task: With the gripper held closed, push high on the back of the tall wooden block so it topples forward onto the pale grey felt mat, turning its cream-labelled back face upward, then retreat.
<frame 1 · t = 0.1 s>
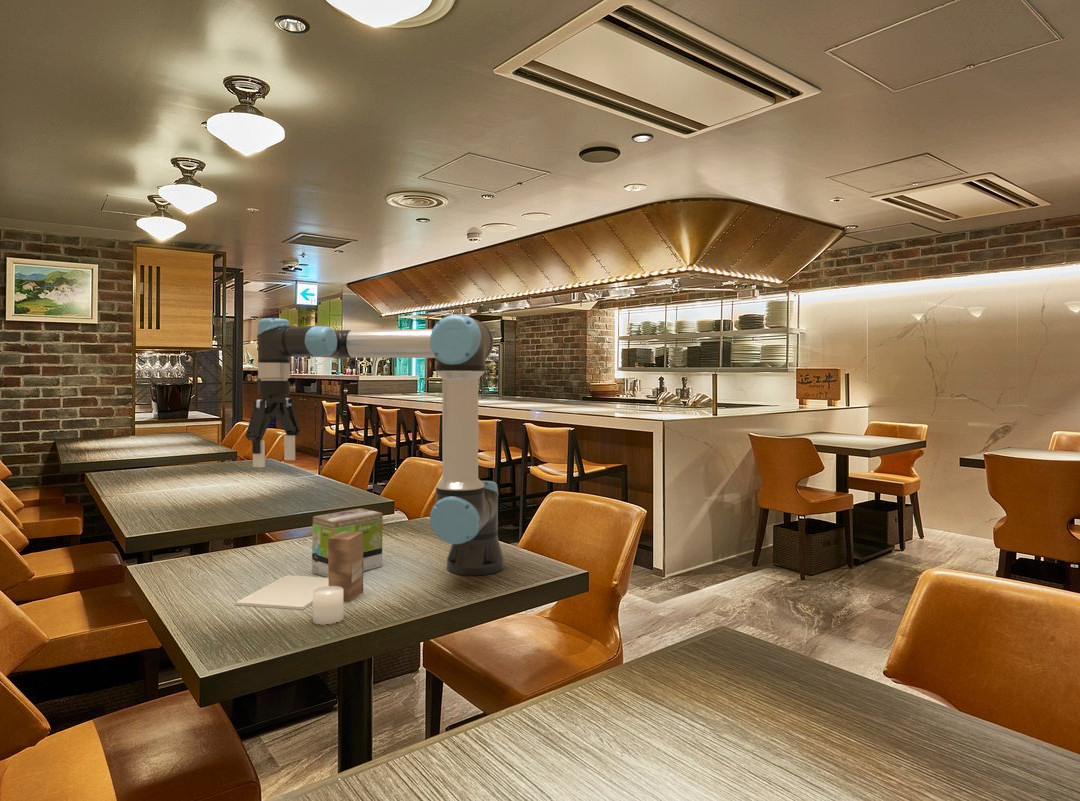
hand: (274, 463, 165), 28 cm above the table, fingers open, 13 cm apart
tea box: (348, 570, 168), on the table
wooden block: (346, 596, 148), on the table
felt mat: (294, 592, 150), on the table
white pillar candle: (328, 619, 134), on the table
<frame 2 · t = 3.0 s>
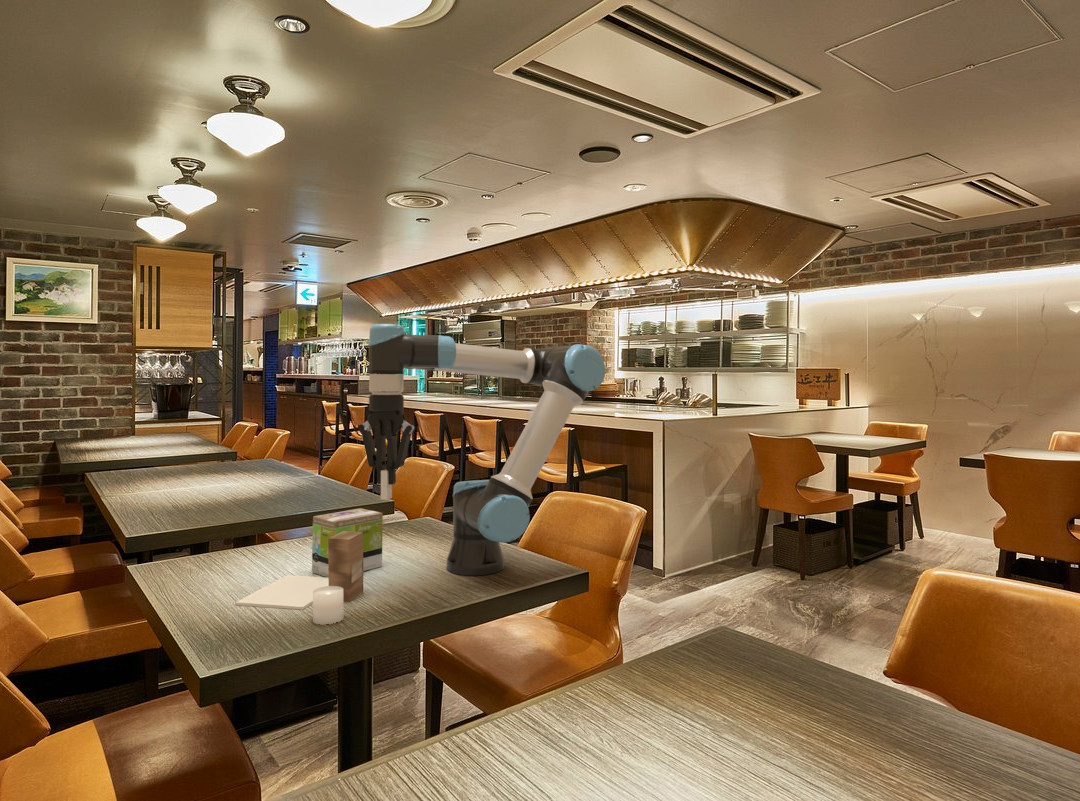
hand: (386, 498, 146), 23 cm above the table, fingers closed
nothing on the table moved.
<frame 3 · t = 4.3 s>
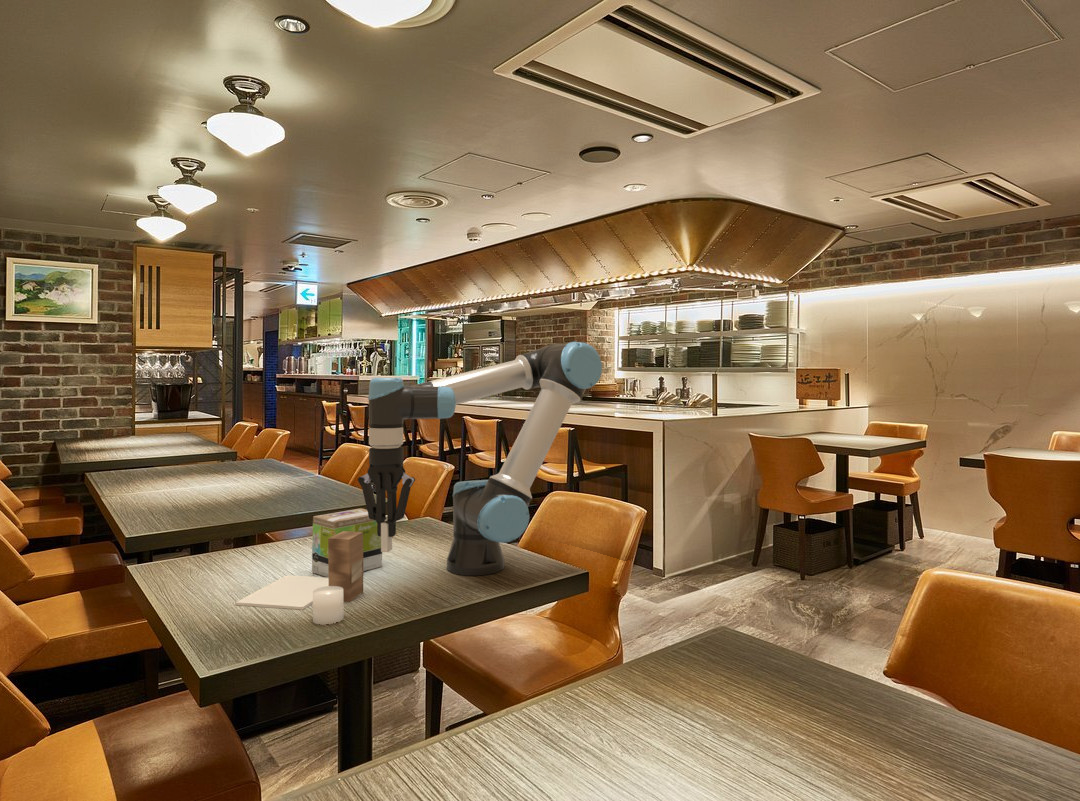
hand: (386, 550, 146), 11 cm above the table, fingers closed
nothing on the table moved.
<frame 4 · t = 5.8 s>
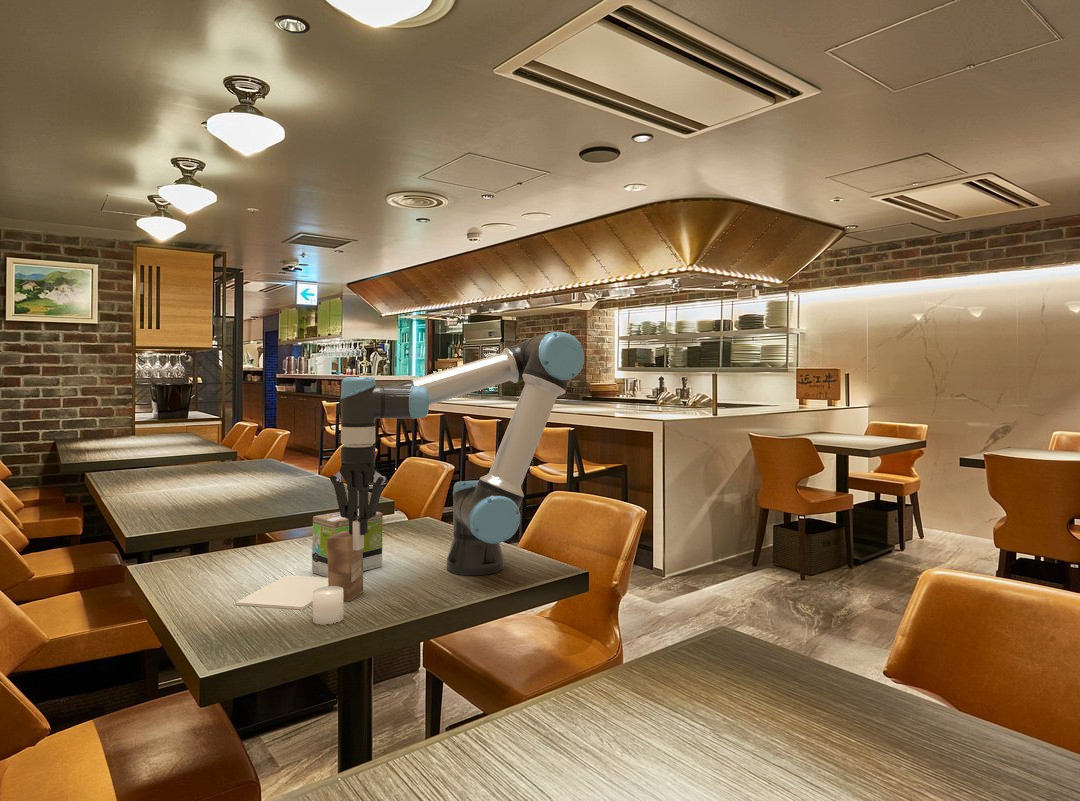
hand: (358, 548, 147), 11 cm above the table, fingers closed
wooden block: (346, 595, 148), on the table, touching gripper
everything else where it was.
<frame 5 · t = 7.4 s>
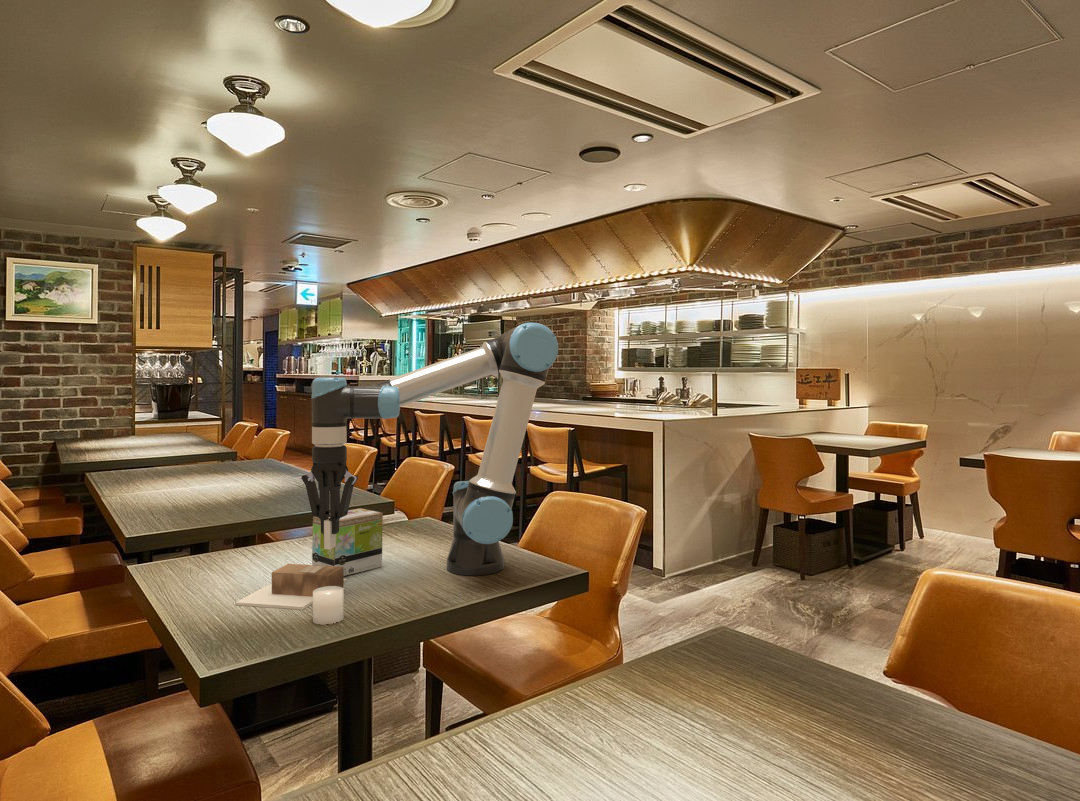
hand: (330, 547, 148), 11 cm above the table, fingers closed
wooden block: (336, 581, 149), point 3 cm above the table, tilted 90°, touching felt mat
everything else where it was.
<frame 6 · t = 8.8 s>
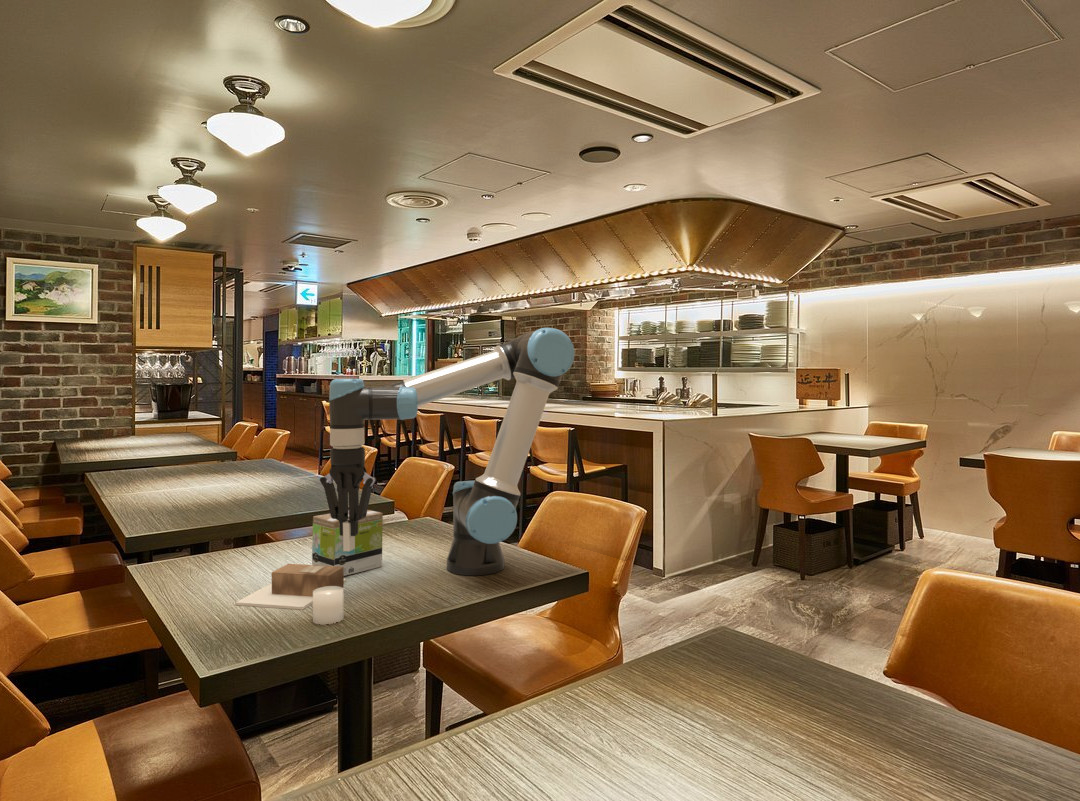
hand: (349, 549, 148), 11 cm above the table, fingers closed
nothing on the table moved.
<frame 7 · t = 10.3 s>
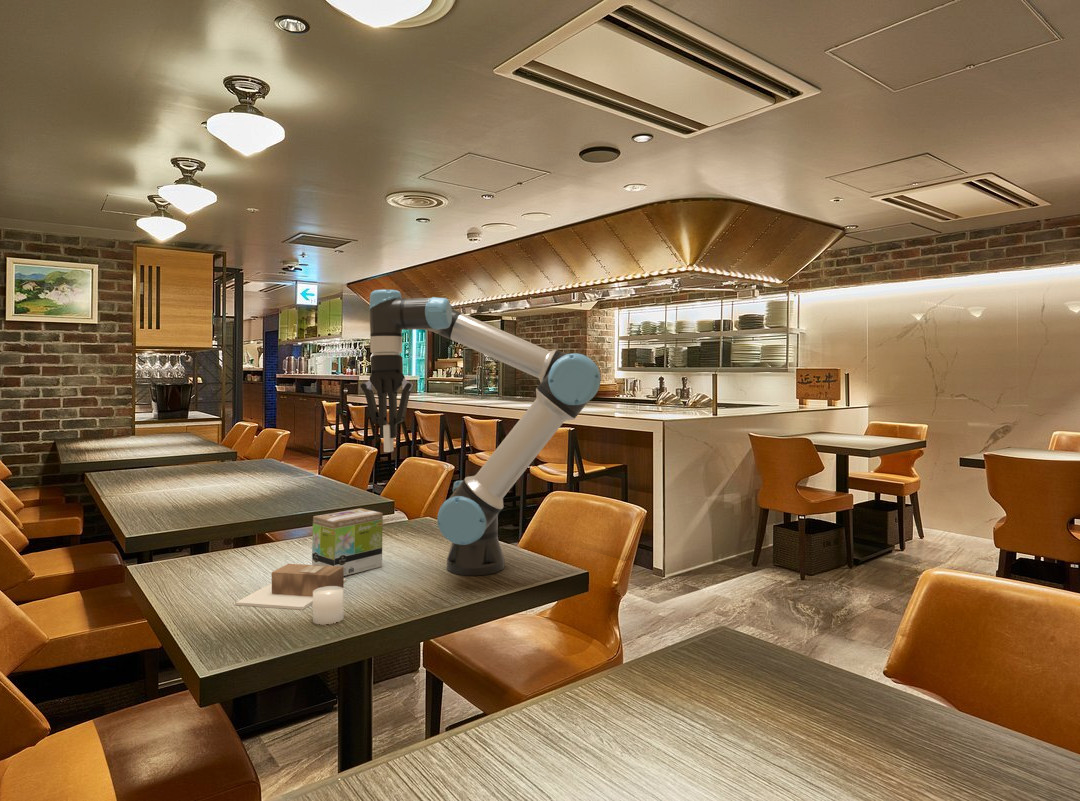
hand: (388, 451, 158), 32 cm above the table, fingers closed
nothing on the table moved.
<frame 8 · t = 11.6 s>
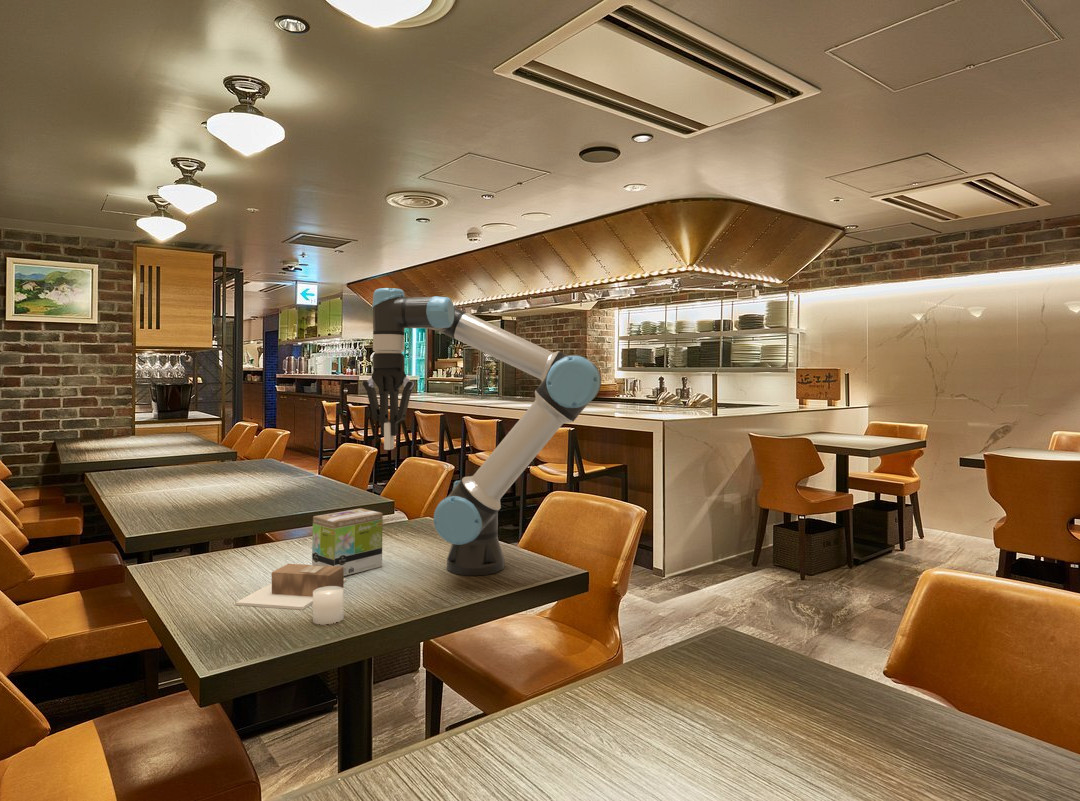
hand: (389, 449, 159), 32 cm above the table, fingers closed
nothing on the table moved.
at the end: wooden block tilted 90°; wooden block inside the target area (9.1 cm from its centre), point 3.1 cm above the table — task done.
